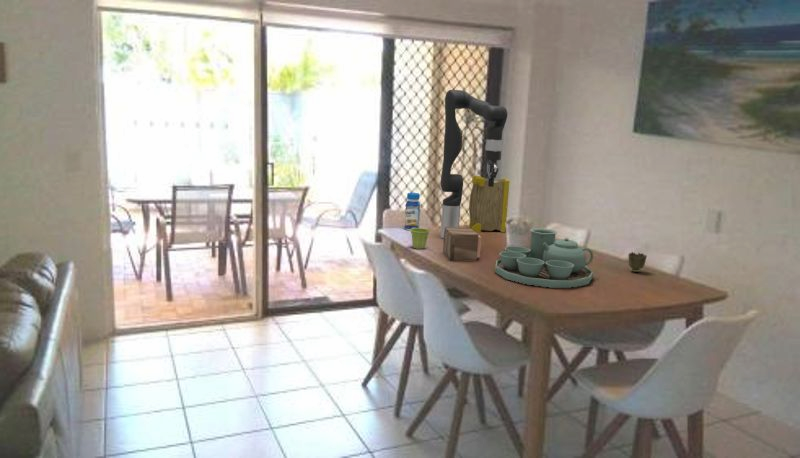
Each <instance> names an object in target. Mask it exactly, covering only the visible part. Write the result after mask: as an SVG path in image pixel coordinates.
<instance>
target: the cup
mask: <svg viewBox="0 0 800 458" xmlns="http://www.w3.org/2000/svg"><path fill="white" fill-rule="evenodd" d="M647 257H648V255H647V254H644V253H641V252H638V253H637V254H636V253H635V252H633V251H631V252H629V253H628V266H629V268H631V269H630V270H631V272H632V271H634V272H633V273H635V272H639V273H640V272H641V270H642V269H643V268H644V267H645V264H646V262H647Z"/></svg>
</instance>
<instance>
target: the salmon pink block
mask: <svg viewBox="0 0 800 458" xmlns="http://www.w3.org/2000/svg"><path fill="white" fill-rule="evenodd" d="M481 245H482V237H481V235H479V236H478V250H477V258H480V257H481V249H482V248H481Z"/></svg>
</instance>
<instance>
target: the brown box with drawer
mask: <svg viewBox="0 0 800 458" xmlns="http://www.w3.org/2000/svg"><path fill="white" fill-rule="evenodd" d="M478 236H480V235H479V234H478V232H475V231H473V230H472V229H471V228H469V227H460V226H459V227H445V231H444V238H443V249H442V250H443V251H442V253H443V254H444V255H445V256H446V258H448V260H449V261H450V262H477V261H478V257H477V250H478Z"/></svg>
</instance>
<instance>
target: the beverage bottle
mask: <svg viewBox="0 0 800 458" xmlns="http://www.w3.org/2000/svg"><path fill="white" fill-rule="evenodd" d="M406 199H407V201H406V202H405V209H404V226H403V227H404V230H406V231H410V229H412V228H420V218H421V217H420V216H421V204H420V201H419V200H420V193H418V192H408V193H407V194H406Z"/></svg>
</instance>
